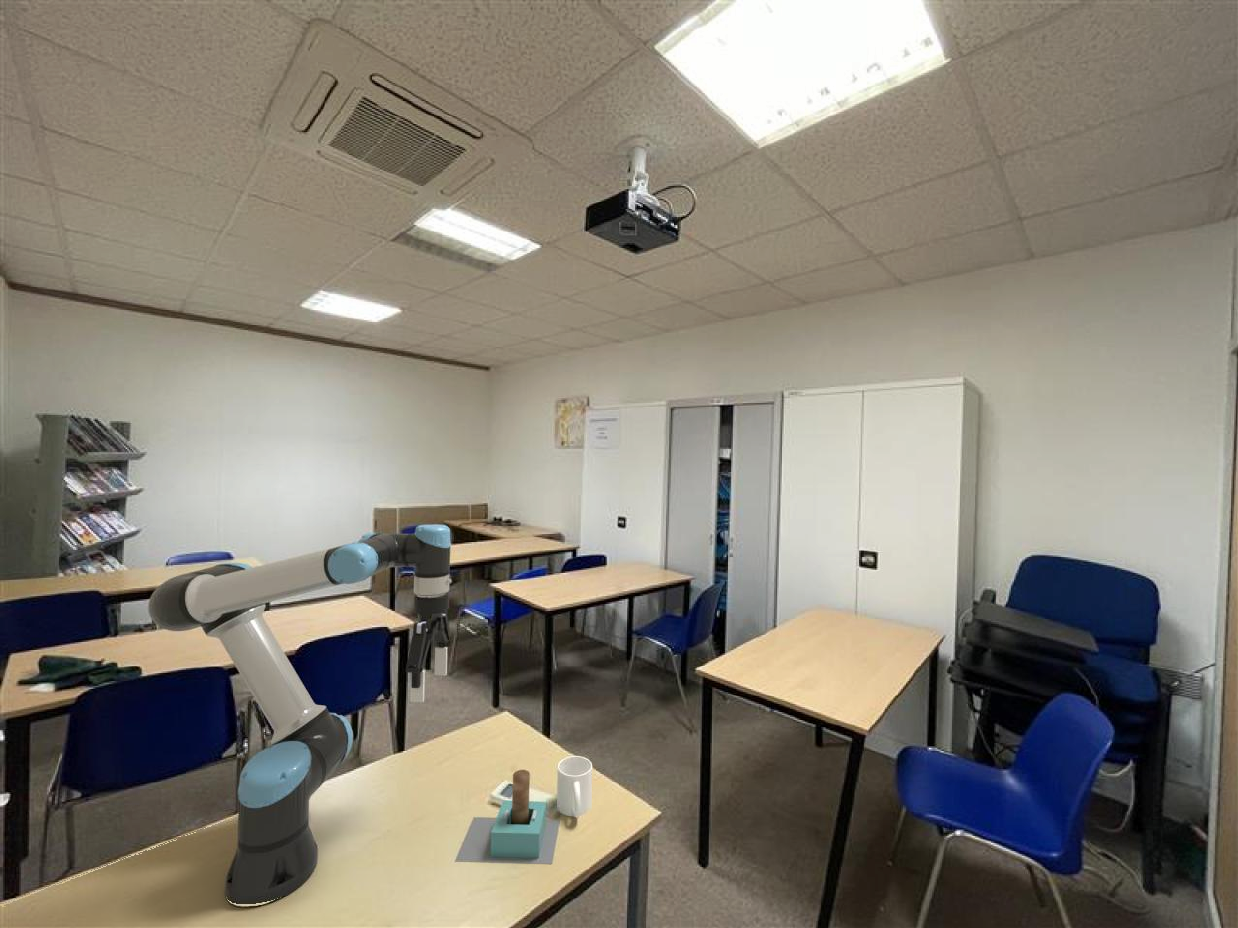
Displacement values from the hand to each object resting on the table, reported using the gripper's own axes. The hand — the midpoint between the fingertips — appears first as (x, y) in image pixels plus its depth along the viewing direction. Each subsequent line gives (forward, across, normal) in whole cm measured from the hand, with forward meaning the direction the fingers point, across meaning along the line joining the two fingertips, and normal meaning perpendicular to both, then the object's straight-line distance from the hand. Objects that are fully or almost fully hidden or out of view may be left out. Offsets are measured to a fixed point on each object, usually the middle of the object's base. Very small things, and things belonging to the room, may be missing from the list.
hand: (429, 687), depth 113 cm
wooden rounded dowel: (+31, -4, -22) cm, 38 cm away
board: (+32, -4, -20) cm, 38 cm away
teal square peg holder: (+31, -4, -22) cm, 38 cm away
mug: (+32, +6, -33) cm, 46 cm away
